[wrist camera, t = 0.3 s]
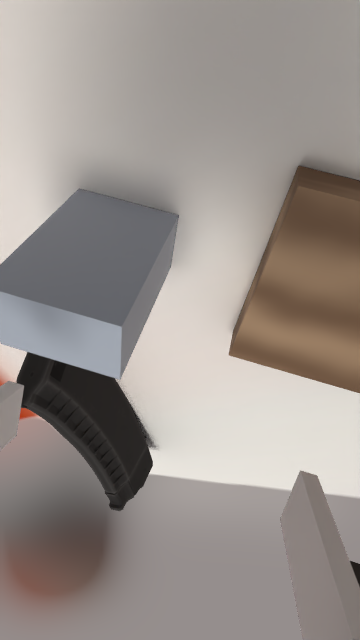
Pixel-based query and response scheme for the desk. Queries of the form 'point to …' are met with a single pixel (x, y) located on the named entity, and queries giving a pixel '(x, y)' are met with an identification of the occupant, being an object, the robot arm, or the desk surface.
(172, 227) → the slate gray rectangular prism
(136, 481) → the magazine
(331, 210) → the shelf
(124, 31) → the desk surface
